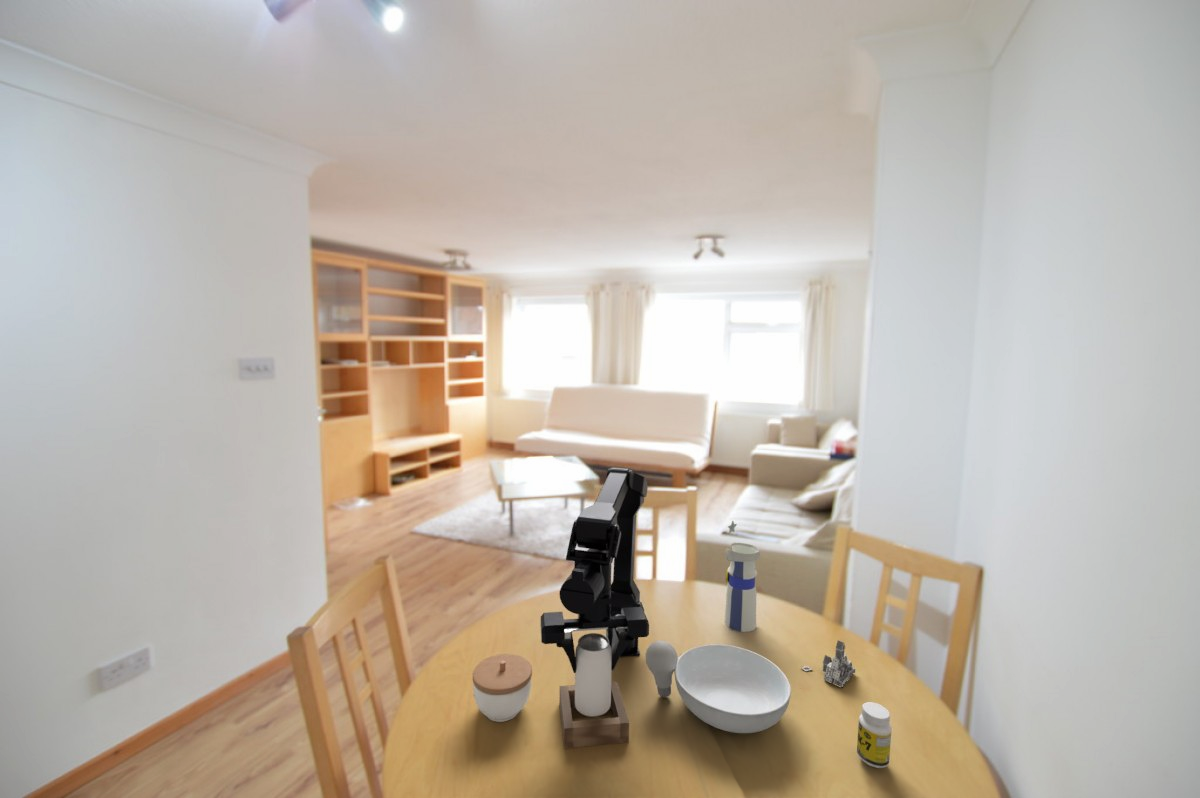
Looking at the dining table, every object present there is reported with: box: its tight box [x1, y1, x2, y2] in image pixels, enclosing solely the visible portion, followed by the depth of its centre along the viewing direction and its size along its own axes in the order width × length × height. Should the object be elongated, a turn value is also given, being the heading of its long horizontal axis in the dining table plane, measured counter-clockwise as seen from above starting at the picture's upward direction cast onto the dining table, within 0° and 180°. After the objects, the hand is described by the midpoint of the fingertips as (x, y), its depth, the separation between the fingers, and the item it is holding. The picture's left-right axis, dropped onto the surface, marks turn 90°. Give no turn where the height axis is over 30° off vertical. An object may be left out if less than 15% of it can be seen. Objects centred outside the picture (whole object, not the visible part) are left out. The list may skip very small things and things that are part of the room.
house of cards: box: [801, 639, 856, 688], centre depth 108 cm, size 9×9×8 cm
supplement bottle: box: [856, 701, 892, 769], centre depth 83 cm, size 5×5×8 cm
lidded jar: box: [472, 653, 533, 723], centre depth 93 cm, size 11×11×9 cm
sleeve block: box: [558, 681, 630, 749], centre depth 91 cm, size 11×11×4 cm
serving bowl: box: [673, 643, 792, 734], centre depth 94 cm, size 21×21×7 cm
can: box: [574, 632, 612, 718], centre depth 90 cm, size 6×6×12 cm
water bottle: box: [723, 520, 761, 633], centre depth 124 cm, size 8×9×25 cm
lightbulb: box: [644, 640, 679, 698], centre depth 97 cm, size 6×6×11 cm
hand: (593, 670), depth 90 cm, fingers closed on can, 6 cm apart
